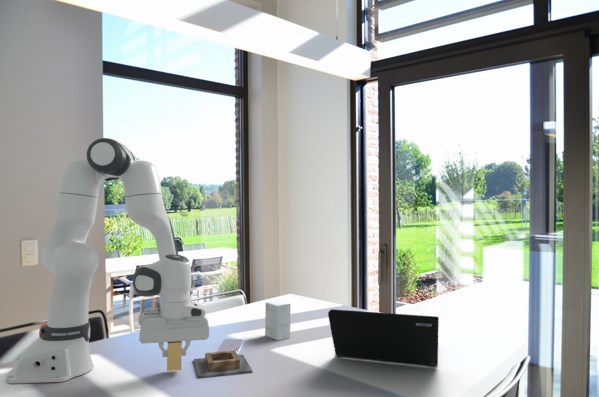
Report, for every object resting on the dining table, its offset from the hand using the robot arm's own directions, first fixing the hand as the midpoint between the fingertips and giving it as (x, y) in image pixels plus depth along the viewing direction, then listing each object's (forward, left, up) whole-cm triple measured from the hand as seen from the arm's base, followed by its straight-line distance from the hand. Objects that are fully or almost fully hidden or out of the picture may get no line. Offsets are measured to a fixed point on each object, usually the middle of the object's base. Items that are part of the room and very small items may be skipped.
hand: (174, 355), depth 137 cm
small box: (+40, +27, -5) cm, 48 cm away
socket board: (+15, +1, -5) cm, 15 cm away
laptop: (+69, -5, -6) cm, 69 cm away
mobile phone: (+21, +20, -6) cm, 29 cm away
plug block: (0, 0, -4) cm, 4 cm away
